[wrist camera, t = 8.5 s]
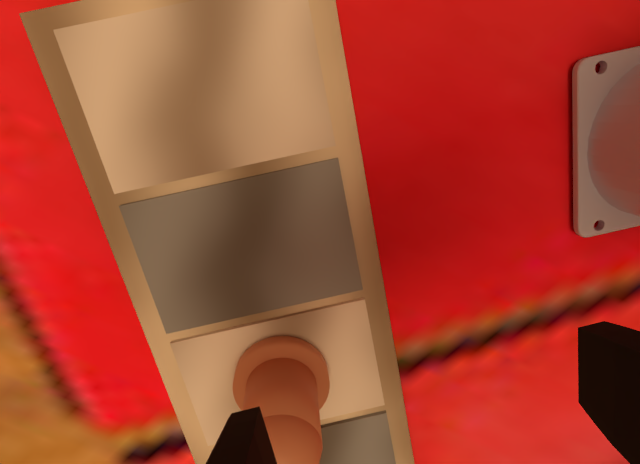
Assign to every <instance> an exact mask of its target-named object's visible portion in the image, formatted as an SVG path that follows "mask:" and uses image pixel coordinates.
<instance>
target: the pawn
mask: <svg viewBox="0 0 640 464" xmlns="http://www.w3.org/2000/svg"><path fill="white" fill-rule="evenodd" d="M329 389H330V381H329V374H328V368H327V364H326V361H325V359H324V357H323V356H322V354H321V353H320V352H319V351H318V349H317V348H315V347H314V346H313V345H312V344H310V343H308V342H307V341H304V340H302V339H299V338H296V337H290V336H275V337H270V338H266V339H263V340H261V341H259V342H257V343H255V344H253V345H252V346H251V347H249V348H248V349H247V350H246V351H245V352H244V353H243V355H242V356H241V357H240V359H239V361H238V363H237V366H236V370H235V375H234V380H233V395H234V399H235V401H236V403H237V405H238V407H239V408H240V409H241V411H243V410H247V409H251V408H255V407H259V406H260V410H261V413H262V416H263V419H264V422H265V426H266V429H267V432H268V435H269V439H270V442H271V445H272V448H273V452H274V455H275V458H276V461H277V464H319V462H320V458H321V454H322V449H323V444H322V433H321V423H320V413H319V410H320V409H321V408H322V407H323V405H324V403H325V402H326V400H327V397H328V394H329Z"/></svg>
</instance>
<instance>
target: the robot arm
mask: <svg viewBox="0 0 640 464" xmlns="http://www.w3.org/2000/svg"><path fill="white" fill-rule="evenodd" d="M597 63H599V64H600V70H599V72H598V73H596V71H595V66H596V64H597ZM572 107H573V228H574V232H575V233H576V234H577V235H580V236H582V237H592V236H596V235H600V234H605V233H609V232H614V231H618V230H623V229H627V228H632V227H636V226H640V46H637V47H632V48H628V49H623V50H619V51H614V52H609V53H605V54H600V55H595V56H591V57H586V58H583V59H580V60H579V61H578V62H577V63H576V64H575V65H574V67H573V71H572ZM596 221H598V225H597V226H596V227H595V228H594V224H595V223H596ZM578 375H579V403H580V405H581V406H582V407H583V409H584V410H585V411H586V413H587V414H588V415H589V416H590V418H591V419H592V420H593V422H594V423H595V424H596V426H597V427H598V428H599V429H600V430H601V432H602V433H603V434H604V435H605V437H606V438H607V439H608V440H609V441H610V443H611V444H612V445H613V446H614V447H615V448H616V449H617V450H618V451H619V452H620V454H621V455H622V456H623V457H624V458H625V459H626V460H627V461H628V462H629V463H630V464H640V331H637V330H634V329H630V328H627V327H623V326H620V325H616V324H613V323H609V322H605V321H604V322H600V323H596V324H592V325H587V326H583V327H579V328H578ZM206 464H277V461H276V458H275V455H274V452H273V448H272V445H271V442H270V439H269V435H268V432H267V429H266V426H265V422H264V419H263V416H262V413H261V410H260V406H259V407H255V408H251V409H247V410H243V411H239V412H235V413H232V414H231V415H230V416H229V418H228V420H227V422H226V424H225V426H224V428H223V430H222V432H221V434H220V436H219V438H218V440H217V442H216V444H215V446H214V448H213V450H212V452H211V454H210V456H209V458H208V460H207V462H206Z"/></svg>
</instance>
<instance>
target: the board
mask: <svg viewBox="0 0 640 464" xmlns="http://www.w3.org/2000/svg"><path fill="white" fill-rule="evenodd" d="M19 15H20V17H21V20H22V22H23V25H24V27H25V30H26V32H27V35H28V38H29V40H30V43H31V45H32V48H33V50H34V53H35V55H36V58H37V60H38V63H39V66H40V68H41V71H42V73H43V76H44V78H45V81H46V83H47V86H48V89H49V91H50V94H51V96H52V99H53V101H54V104H55V106H56V109H57V112H58V114H59V117H60V119H61V122H62V124H63V127H64V129H65V132H66V134H67V137H68V140H69V142H70V145H71V147H72V150H73V152H74V155H75V157H76V160H77V163H78V165H79V168H80V170H81V173H82V175H83V178H84V180H85V183H86V186H87V188H88V191H89V193H90V196H91V198H92V201H93V203H94V206H95V208H96V211H97V214H98V216H99V219H100V221H101V224H102V226H103V229H104V231H105V234H106V237H107V239H108V242H109V244H110V247H111V249H112V252H113V254H114V257H115V259H116V262H117V265H118V267H119V270H120V272H121V275H122V277H123V280H124V282H125V285H126V288H127V290H128V293H129V295H130V298H131V300H132V303H133V305H134V308H135V311H136V313H137V316H138V318H139V321H140V323H141V326H142V328H143V331H144V333H145V336H146V339H147V341H148V344H149V346H150V349H151V351H152V354H153V356H154V359H155V362H156V364H157V367H158V369H159V372H160V374H161V377H162V379H163V382H164V385H165V387H166V390H167V392H168V395H169V397H170V400H171V402H172V405H173V407H174V410H175V413H176V415H177V418H178V420H179V423H180V425H181V428H182V430H183V433H184V436H185V438H186V441H187V443H188V446H189V448H190V451H191V453H192V456H193V459H194V461H195V464H206V462H207V460H208V458H209V456H210V454H211V452H212V450H213V448H214V446H215V444H216V442H217V440H218V438H219V436H220V434H221V432H222V430H223V428H224V426H225V424H226V422H227V420H228V418H229V416H230V415H231V414H232V413H235V412H239V411H241V409H240V408H239V407H238V405H237V403H236V401H235V399H234V395H233V380H234V375H235V370H236V366H237V363H238V361H239V359H240V357H241V356H242V355H243V353H244V352H245V351H246V350H247V349H248V348H249V347H251V346H252V345H253V344H255V343H257V342H259V341H261V340H263V339H266V338H270V337H275V336H290V337H296V338H299V339H302V340H304V341H307V342H308V343H310V344H312V345H313V346H314V347H315V348H317V349H318V351H319V352H320V353H321V354H322V356H323V357H324V359H325V361H326V364H327V368H328V374H329V381H330V389H329V394H328V397H327V400H326V402H325V403H324V405H323V407H322V408H321V409H320V410H319V413H320V423H321V433H322V444H323V449H322V454H321V458H320V462H319V464H414V458H413V452H412V446H411V440H410V435H409V429H408V423H407V417H406V411H405V405H404V399H403V394H402V388H401V382H400V376H399V370H398V364H397V358H396V353H395V347H394V341H393V335H392V329H391V323H390V317H389V312H388V306H387V300H386V294H385V288H384V282H383V276H382V271H381V265H380V259H379V253H378V247H377V241H376V235H375V230H374V224H373V218H372V212H371V206H370V200H369V195H368V189H367V183H366V177H365V171H364V165H363V159H362V154H361V148H360V142H359V136H358V130H357V124H356V118H355V113H354V107H353V101H352V95H351V89H350V83H349V77H348V72H347V66H346V60H345V54H344V48H343V42H342V36H341V31H340V25H339V19H338V13H337V7H336V1H335V0H82V1H77V2H72V3H68V4H63V5H58V6H53V7H48V8H44V9H39V10H34V11H29V12H24V13H20V14H19Z"/></svg>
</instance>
